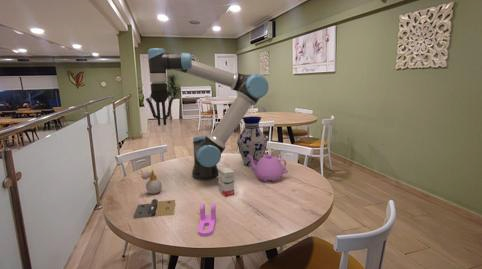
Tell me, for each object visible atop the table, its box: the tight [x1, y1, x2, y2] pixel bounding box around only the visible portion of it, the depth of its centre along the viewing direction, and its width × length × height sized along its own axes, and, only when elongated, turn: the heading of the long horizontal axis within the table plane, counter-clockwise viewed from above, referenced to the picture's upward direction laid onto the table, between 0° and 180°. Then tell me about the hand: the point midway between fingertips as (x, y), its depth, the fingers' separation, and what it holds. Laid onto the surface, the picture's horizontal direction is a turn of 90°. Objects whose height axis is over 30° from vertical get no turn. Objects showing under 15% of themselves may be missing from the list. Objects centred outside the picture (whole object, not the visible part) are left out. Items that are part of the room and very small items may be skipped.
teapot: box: [247, 153, 289, 183], centre depth 150 cm, size 22×16×14 cm
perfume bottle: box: [141, 169, 163, 195], centre depth 134 cm, size 8×10×12 cm
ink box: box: [217, 166, 235, 198], centre depth 133 cm, size 8×5×12 cm, turn 26°
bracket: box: [197, 203, 217, 238], centre depth 103 cm, size 13×6×7 cm, turn 0°
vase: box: [236, 116, 268, 167], centre depth 175 cm, size 19×19×30 cm
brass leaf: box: [155, 199, 176, 217], centre depth 118 cm, size 7×10×3 cm
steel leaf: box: [132, 199, 159, 219], centre depth 117 cm, size 8×10×3 cm
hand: (162, 132), depth 135 cm, fingers closed
